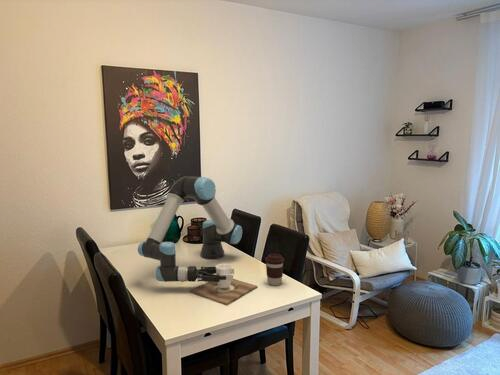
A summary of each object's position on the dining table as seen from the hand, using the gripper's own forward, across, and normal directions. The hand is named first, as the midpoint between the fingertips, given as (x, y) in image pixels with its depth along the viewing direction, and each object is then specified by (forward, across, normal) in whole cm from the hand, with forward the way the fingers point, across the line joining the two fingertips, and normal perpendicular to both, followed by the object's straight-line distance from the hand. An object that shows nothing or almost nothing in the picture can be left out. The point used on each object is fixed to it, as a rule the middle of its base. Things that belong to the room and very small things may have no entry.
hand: (233, 273), depth 185 cm
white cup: (-5, 0, -6) cm, 8 cm away
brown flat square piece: (-5, 0, -8) cm, 10 cm away
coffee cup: (+21, -9, -9) cm, 24 cm away
